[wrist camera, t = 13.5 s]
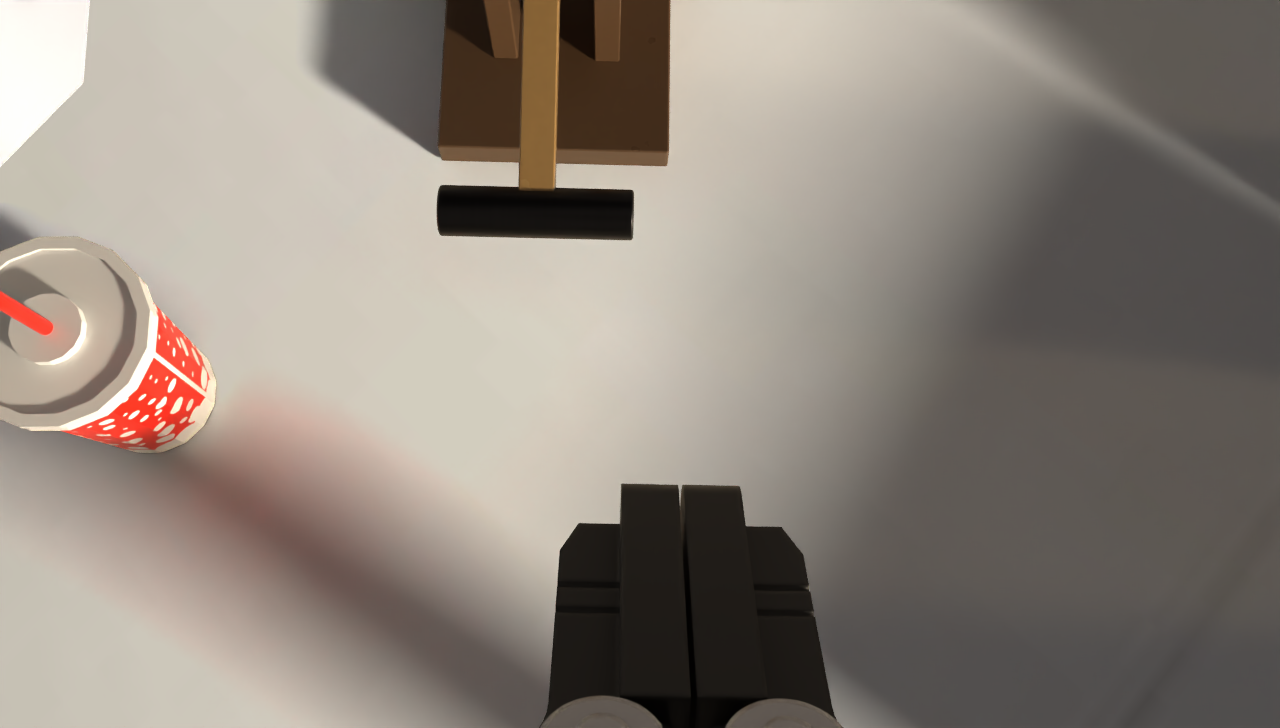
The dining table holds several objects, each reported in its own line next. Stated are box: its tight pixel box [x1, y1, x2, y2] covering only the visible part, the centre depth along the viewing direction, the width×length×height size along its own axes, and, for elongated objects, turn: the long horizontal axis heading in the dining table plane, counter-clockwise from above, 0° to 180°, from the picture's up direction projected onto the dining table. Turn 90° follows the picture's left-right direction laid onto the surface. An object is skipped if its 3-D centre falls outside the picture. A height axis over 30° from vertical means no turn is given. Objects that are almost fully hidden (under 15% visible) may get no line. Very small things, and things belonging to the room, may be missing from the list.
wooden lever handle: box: [437, 0, 634, 240], centre depth 38 cm, size 14×6×2 cm, turn 179°
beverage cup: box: [0, 237, 216, 453], centre depth 39 cm, size 6×6×14 cm
